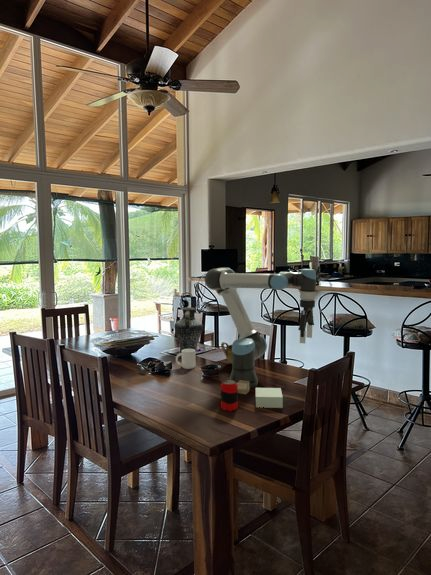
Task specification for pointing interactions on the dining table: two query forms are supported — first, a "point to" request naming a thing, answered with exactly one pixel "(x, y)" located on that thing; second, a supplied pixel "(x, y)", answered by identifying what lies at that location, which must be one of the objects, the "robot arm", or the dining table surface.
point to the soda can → (229, 395)
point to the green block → (269, 398)
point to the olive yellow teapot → (227, 351)
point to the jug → (188, 329)
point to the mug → (187, 358)
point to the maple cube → (243, 387)
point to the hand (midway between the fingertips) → (305, 340)
